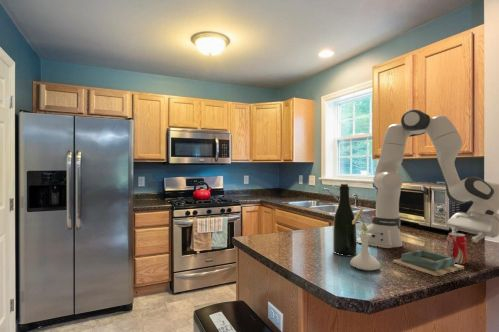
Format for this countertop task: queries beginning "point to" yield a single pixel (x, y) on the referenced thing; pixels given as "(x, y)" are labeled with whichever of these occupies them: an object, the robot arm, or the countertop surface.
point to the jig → (429, 262)
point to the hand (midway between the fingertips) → (462, 238)
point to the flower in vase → (364, 249)
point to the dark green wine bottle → (344, 225)
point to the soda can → (457, 247)
